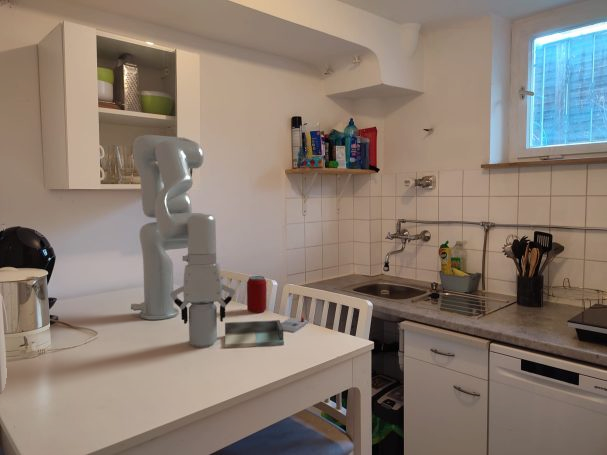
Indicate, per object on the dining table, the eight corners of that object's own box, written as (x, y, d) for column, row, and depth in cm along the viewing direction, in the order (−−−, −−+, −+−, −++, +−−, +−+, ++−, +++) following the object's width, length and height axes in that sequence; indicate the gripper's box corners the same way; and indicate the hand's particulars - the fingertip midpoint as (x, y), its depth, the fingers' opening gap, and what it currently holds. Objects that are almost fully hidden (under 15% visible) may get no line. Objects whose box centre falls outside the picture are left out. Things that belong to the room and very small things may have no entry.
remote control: (272, 333, 135) (272, 323, 135) (295, 319, 149) (295, 310, 149) (291, 336, 132) (291, 326, 132) (313, 322, 146) (313, 313, 146)
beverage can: (267, 308, 160) (267, 275, 159) (264, 313, 153) (264, 279, 152) (249, 308, 161) (249, 275, 160) (245, 313, 154) (245, 279, 153)
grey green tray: (225, 347, 120) (225, 333, 120) (225, 335, 130) (225, 322, 130) (283, 344, 123) (283, 330, 123) (279, 333, 133) (279, 320, 133)
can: (192, 350, 119) (192, 305, 118) (186, 341, 125) (185, 299, 124) (220, 345, 122) (219, 302, 121) (212, 337, 129) (212, 296, 128)
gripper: (167, 262, 116) (169, 327, 117) (234, 260, 119) (235, 323, 120) (171, 259, 124) (172, 319, 125) (234, 257, 127) (235, 316, 128)
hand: (203, 321), depth 123 cm, fingers open, 9 cm apart
